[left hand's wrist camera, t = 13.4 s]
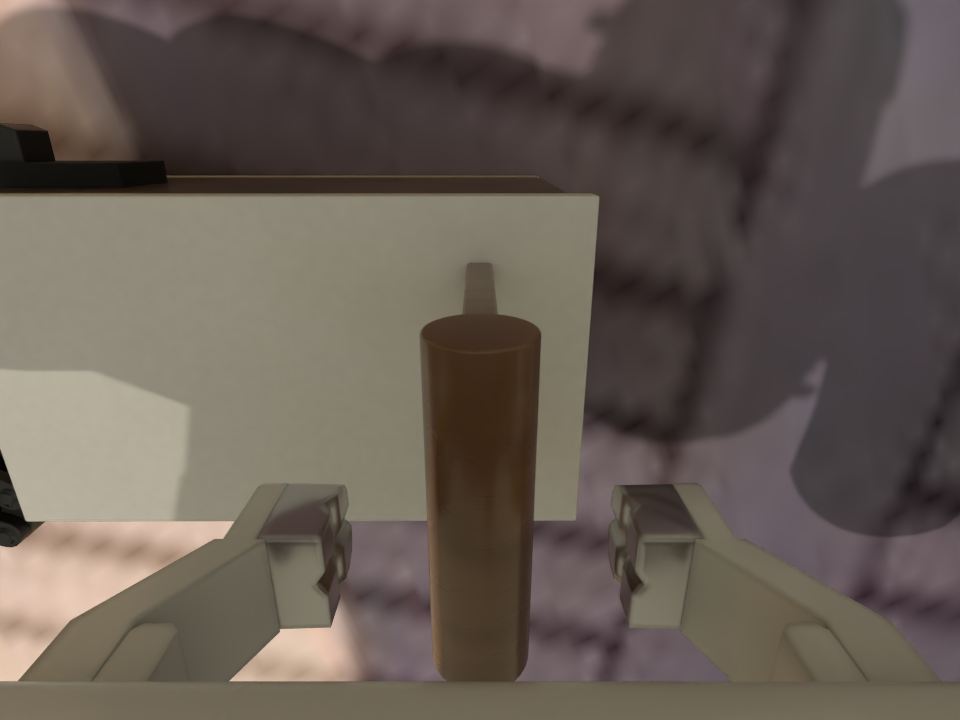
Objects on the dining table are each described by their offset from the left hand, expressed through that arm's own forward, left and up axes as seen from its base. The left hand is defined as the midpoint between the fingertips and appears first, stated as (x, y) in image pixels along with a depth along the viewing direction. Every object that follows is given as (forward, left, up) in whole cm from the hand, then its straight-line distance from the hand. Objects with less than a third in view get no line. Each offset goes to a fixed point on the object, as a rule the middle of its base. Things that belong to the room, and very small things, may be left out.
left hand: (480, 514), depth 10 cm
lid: (+6, -1, -7) cm, 9 cm away
